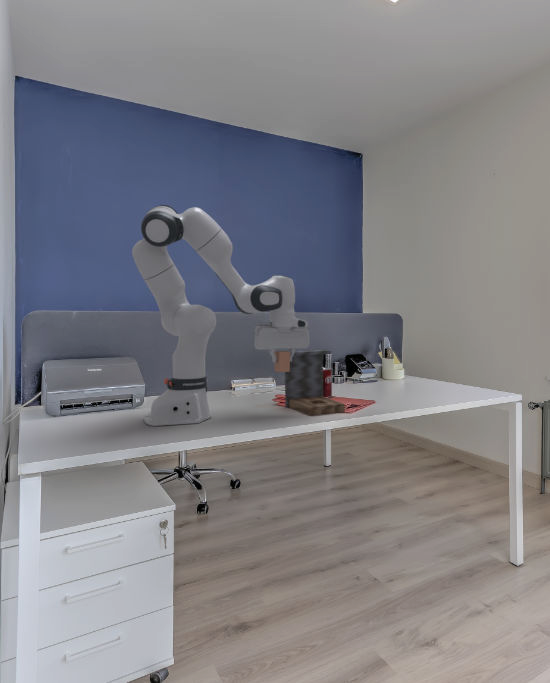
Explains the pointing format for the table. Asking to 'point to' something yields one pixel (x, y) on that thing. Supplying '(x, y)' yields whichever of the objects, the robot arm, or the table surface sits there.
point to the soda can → (327, 382)
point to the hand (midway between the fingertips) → (282, 361)
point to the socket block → (308, 385)
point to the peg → (282, 361)
